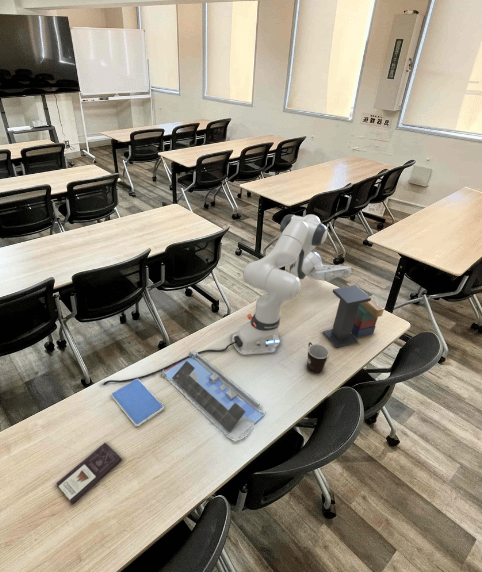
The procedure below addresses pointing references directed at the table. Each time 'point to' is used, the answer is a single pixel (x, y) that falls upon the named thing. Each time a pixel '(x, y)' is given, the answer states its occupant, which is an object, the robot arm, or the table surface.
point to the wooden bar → (371, 305)
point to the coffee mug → (316, 357)
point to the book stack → (363, 323)
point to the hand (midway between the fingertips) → (341, 273)
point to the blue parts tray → (215, 396)
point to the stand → (346, 315)
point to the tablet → (137, 402)
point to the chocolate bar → (88, 473)
